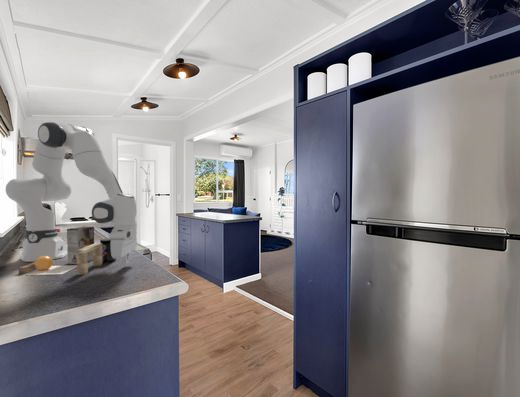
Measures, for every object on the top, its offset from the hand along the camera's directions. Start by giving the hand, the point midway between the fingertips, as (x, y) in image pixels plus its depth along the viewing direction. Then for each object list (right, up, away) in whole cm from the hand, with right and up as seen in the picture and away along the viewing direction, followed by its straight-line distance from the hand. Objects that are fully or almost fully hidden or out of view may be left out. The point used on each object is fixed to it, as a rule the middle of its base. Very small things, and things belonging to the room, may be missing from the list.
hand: (125, 263), depth 118 cm
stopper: (-37, -2, -4) cm, 38 cm away
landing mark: (-28, -2, -3) cm, 28 cm away
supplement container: (-14, -2, +12) cm, 19 cm away
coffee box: (-26, -2, +11) cm, 28 cm away
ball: (-32, +1, -4) cm, 32 cm away
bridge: (-14, -2, -2) cm, 14 cm away
